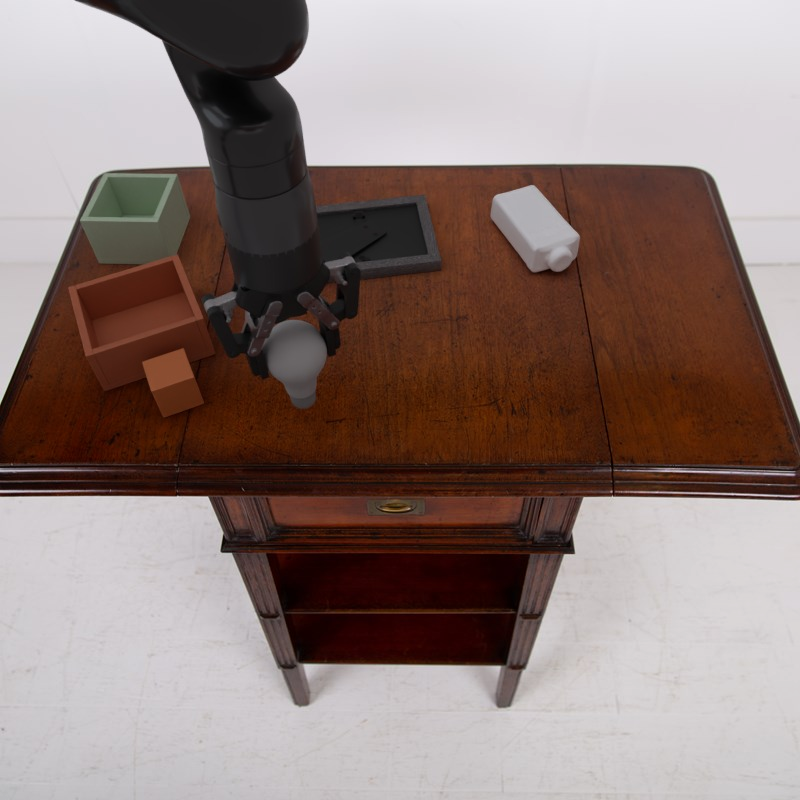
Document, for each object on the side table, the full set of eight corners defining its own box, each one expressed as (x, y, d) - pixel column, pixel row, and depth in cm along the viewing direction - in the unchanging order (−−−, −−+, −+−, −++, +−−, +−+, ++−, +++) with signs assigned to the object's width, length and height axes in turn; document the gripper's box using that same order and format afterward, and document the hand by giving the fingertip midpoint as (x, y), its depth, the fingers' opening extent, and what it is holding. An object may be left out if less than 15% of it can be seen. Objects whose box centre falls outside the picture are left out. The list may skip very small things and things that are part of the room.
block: (163, 418, 80) (151, 391, 77) (154, 388, 83) (141, 361, 79) (204, 403, 81) (194, 376, 78) (193, 375, 84) (183, 347, 80)
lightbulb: (307, 437, 75) (292, 364, 67) (262, 409, 78) (242, 335, 69) (346, 398, 78) (337, 324, 70) (301, 372, 81) (287, 297, 72)
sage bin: (172, 265, 95) (157, 221, 90) (98, 263, 96) (79, 220, 91) (190, 217, 101) (177, 173, 96) (120, 215, 102) (103, 172, 97)
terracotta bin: (104, 391, 83) (85, 356, 78) (86, 323, 90) (67, 287, 85) (215, 354, 86) (203, 318, 81) (190, 290, 92) (177, 253, 88)
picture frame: (295, 286, 92) (441, 270, 93) (293, 274, 91) (441, 257, 92) (291, 218, 101) (425, 204, 102) (288, 206, 99) (425, 191, 100)
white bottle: (536, 284, 91) (540, 257, 88) (489, 221, 99) (491, 194, 95) (583, 269, 93) (589, 242, 89) (533, 208, 100) (537, 181, 97)
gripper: (192, 276, 56) (235, 414, 69) (372, 222, 59) (380, 363, 72) (168, 218, 60) (213, 359, 73) (337, 171, 64) (351, 313, 77)
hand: (296, 360), depth 73 cm, fingers closed on lightbulb, 6 cm apart
